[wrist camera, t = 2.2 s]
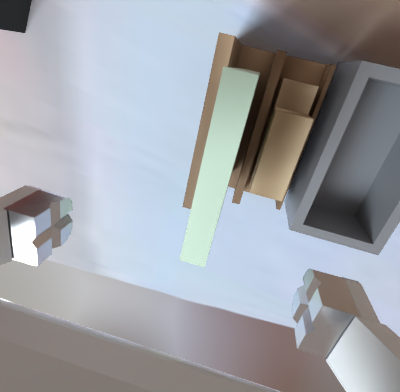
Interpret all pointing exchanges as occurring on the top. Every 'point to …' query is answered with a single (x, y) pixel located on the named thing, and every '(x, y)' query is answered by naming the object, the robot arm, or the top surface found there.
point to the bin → (352, 161)
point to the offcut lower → (291, 102)
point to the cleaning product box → (14, 14)
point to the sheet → (218, 160)
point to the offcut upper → (280, 152)
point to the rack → (254, 105)
